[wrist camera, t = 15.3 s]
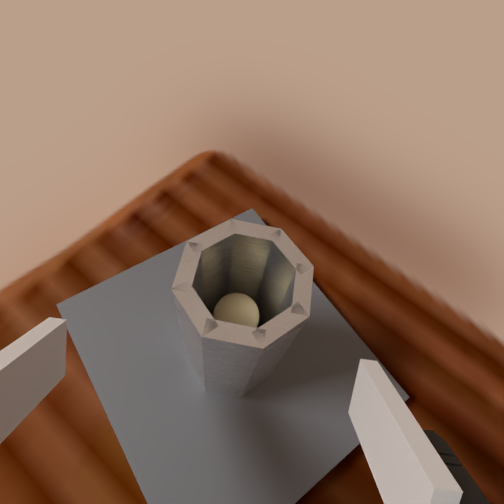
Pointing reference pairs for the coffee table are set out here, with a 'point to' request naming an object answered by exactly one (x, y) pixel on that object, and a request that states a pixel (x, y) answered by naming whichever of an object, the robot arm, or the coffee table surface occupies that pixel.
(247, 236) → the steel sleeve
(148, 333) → the post plate
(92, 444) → the coffee table surface
